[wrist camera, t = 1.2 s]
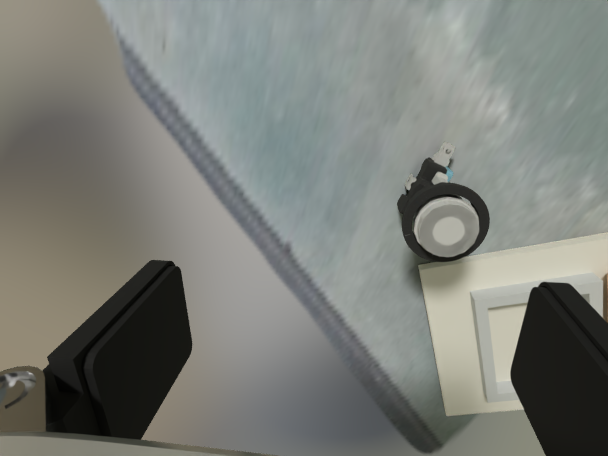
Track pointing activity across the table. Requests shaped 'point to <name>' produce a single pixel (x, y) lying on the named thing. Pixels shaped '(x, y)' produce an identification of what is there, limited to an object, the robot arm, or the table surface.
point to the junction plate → (499, 313)
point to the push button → (441, 212)
